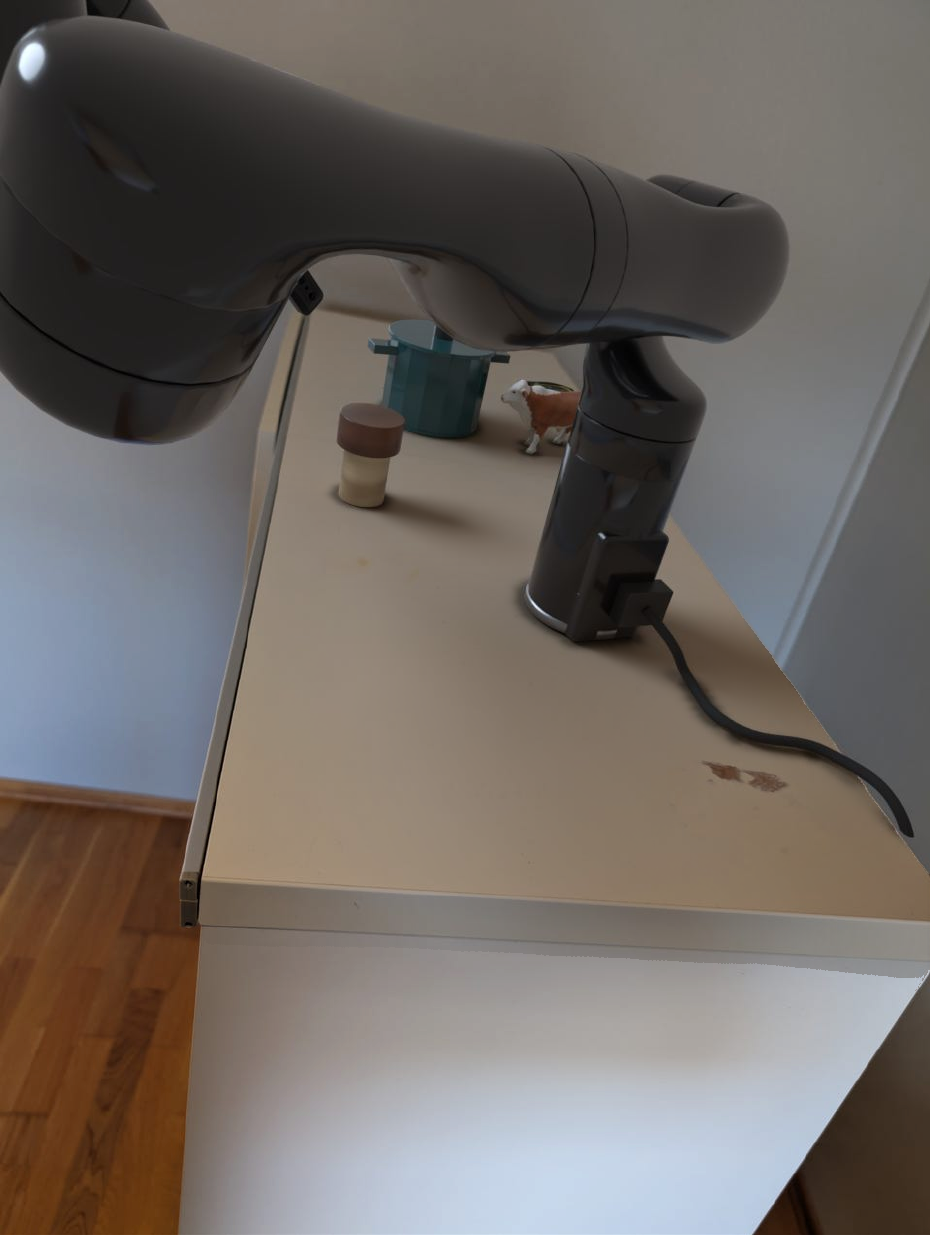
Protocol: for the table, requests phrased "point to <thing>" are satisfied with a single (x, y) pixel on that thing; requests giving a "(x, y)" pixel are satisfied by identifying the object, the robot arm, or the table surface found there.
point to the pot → (434, 389)
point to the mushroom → (367, 451)
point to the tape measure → (550, 386)
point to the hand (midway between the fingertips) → (278, 288)
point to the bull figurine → (542, 410)
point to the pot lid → (433, 340)
